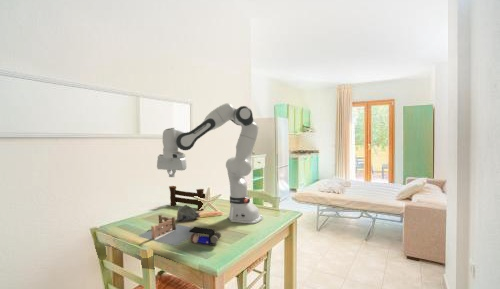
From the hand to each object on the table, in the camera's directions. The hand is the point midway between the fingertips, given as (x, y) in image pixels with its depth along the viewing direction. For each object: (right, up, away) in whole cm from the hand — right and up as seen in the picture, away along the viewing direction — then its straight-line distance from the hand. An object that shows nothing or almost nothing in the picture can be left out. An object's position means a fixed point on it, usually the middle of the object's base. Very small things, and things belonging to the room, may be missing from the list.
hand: (171, 177), depth 154 cm
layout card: (+4, -30, -14) cm, 33 cm away
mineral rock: (+8, -29, +7) cm, 31 cm away
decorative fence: (0, -28, +35) cm, 45 cm away
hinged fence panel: (0, -29, -16) cm, 33 cm away
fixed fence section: (0, -29, -7) cm, 30 cm away
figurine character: (+25, -30, -27) cm, 48 cm away
